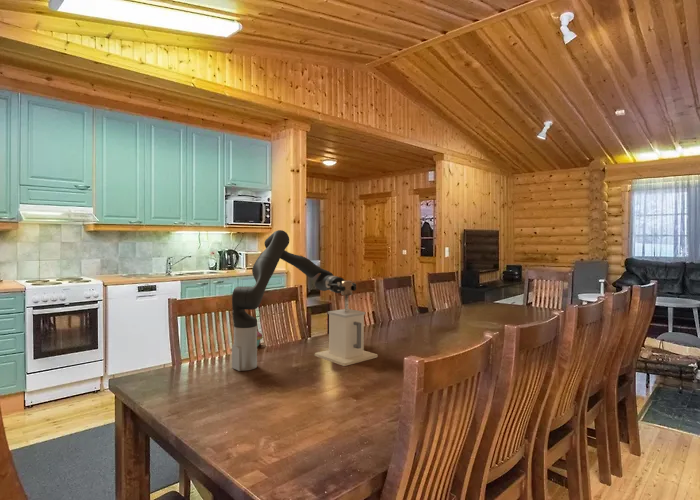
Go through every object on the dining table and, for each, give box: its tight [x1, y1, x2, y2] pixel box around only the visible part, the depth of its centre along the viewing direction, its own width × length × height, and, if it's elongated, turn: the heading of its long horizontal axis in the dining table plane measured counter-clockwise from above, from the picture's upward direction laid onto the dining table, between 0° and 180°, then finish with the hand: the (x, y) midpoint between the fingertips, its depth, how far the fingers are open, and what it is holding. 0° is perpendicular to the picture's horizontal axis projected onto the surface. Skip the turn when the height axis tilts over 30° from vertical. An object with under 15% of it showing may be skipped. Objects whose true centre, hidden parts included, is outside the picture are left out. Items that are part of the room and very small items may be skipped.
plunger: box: [340, 280, 353, 313], centre depth 198 cm, size 9×9×24 cm
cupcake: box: [257, 330, 263, 347], centre depth 215 cm, size 9×8×12 cm
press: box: [314, 308, 378, 367], centre depth 198 cm, size 20×20×20 cm
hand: (349, 288), depth 195 cm, fingers closed on plunger, 4 cm apart
